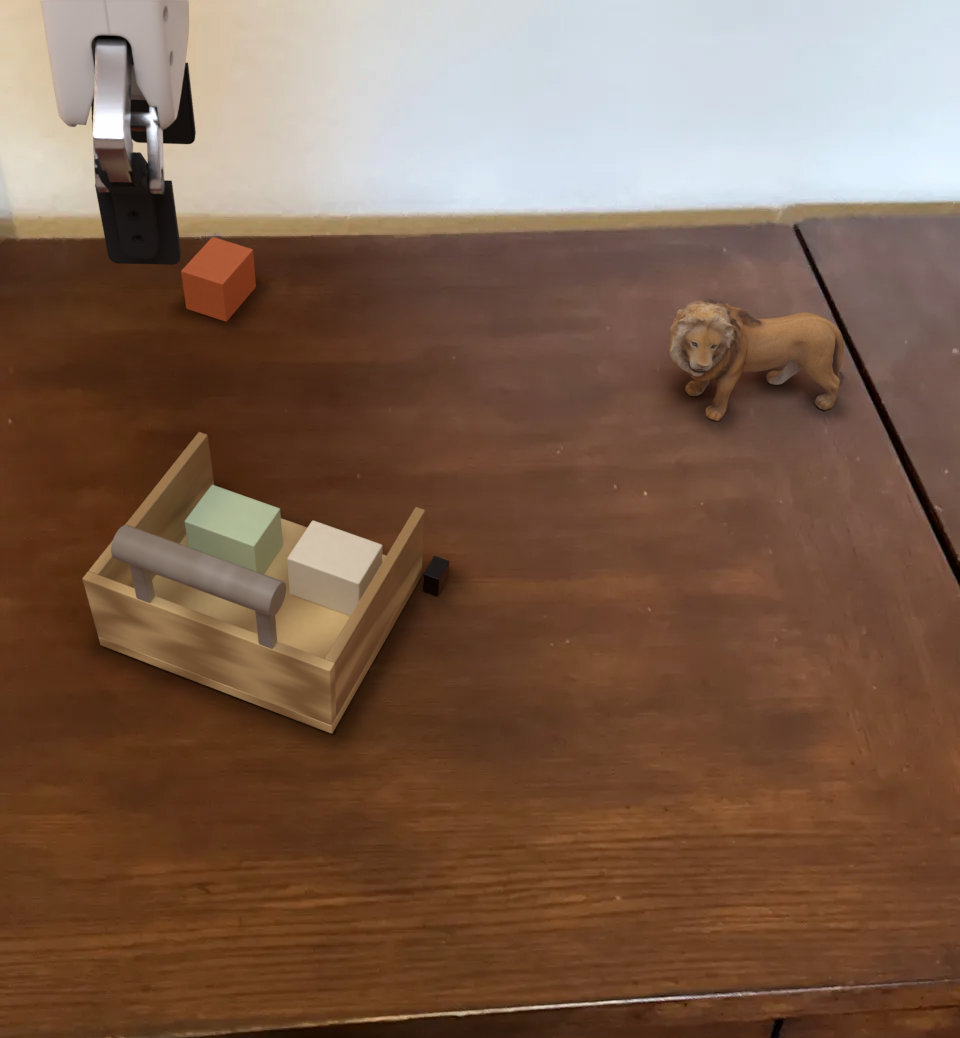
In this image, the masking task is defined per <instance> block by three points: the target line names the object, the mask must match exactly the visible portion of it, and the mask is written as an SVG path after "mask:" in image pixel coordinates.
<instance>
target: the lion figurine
mask: <svg viewBox="0 0 960 1038" xmlns="http://www.w3.org/2000/svg"><path fill="white" fill-rule="evenodd" d="M668 331H669V345H668V353H669V357H670V362H671V364H673V366H675V367H677V368H679V369H680V370H682V371H684V372H686V373H687V374H688V375H689V376H690V377H691V379H692V380H690V381H689V382H688V383H687V384H686V385H685V392H686V393H687V394H688V395H689V396H690V397H691V396H692V397H697V396H700V395H702V394H703V393H704V391H705V390H706V389H707V387H708V385H710V380H711V381H713V382H714V381H716V389H715V390H716V391H715V395H714V397H713V399H712V402H711V404H710V405H708V406H707V407H706V408H705V417H706V418H708V419H709V420H712V421H714V422H718V421H720V420H721V419H722V418H723V417H724V416H725V414H726V412H727V409H728V404H729V398H730V396H731V394H732V391H733V389H734V387H735V386H736V384H737V382H738V381H739V380H740V379H741V376H742V373H754V372H755V373H757V372H758V373H759V372H763V371H767V370H771V371H769V372H768V373H766V376H765V380H766V381H767V382H768V383H769V384H770V385H774V386H779V385H782V384H784V383H786V381H788V380H789V379H791V378H792V377H793V376H794V375H796V374H798V373H800V372H801V371H802V370H803V371H804V373H805V374H806V376H808V378H809V379H810V380H811V381H812V382H813V383H815V384H817V385H818V386H819V387H821V388H823V389H824V391H826V392H825V393H823V394H819V395H817V396H816V398H815V401H814V404H815V406H816V407H817V408H818V409H820V410H824V411H826V410H827V411H828V410H830V409H832V408H833V406H834V405H835V403H836V400H837V397H838V392H839V389H840V383H841V382H842V381H843V380H844V379H845V375H844V374H843V372H842V371H840V370H841V367H842V362H843V356H844V338H843V335H842V332H841V330H840V329H839V328H838V327H837V325H836V324H835V323H833V322H832V321H830V320H829V319H827V318H826V317H824V316H822V315H819V314H816V313H812V312H809V311H800V312H796V313H792V314H789V315H785V316H779V317H772V318H771V317H770V318H754V317H752V316H751V314H750V313H749V312H748V311H747V310H745V309H744V308H741V307H737V306H735V305H730V303H726V302H725V301H719V300H718V299H716V300H714V299H711V298H710V299H708V298H707V299H706V300H705V299H698V300H693V301H690V302H688V303H687V304H686V306H685V307H684V308H680V309H678V310H677V311H676V317H675V318H674V319H673V321H672V323H671V325H670V327H669V330H668ZM785 363H787V364H786V365H785V367H784V368H783V369H782V370H773V369H775V368H778V367H780V366H782V365H784V364H785Z"/></svg>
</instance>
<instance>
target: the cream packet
mask: <svg viewBox="0 0 960 1038" xmlns="http://www.w3.org/2000/svg"><path fill="white" fill-rule="evenodd" d="M382 554H383V544H381V543H379V542H376V541H373V540H371V539H367V538H364V537H361V536H359V535H356V534H353V533H350V532H348V531H345V530H342V529H339V528H337V527H332V526H331V525H327V524H325V523H322V522H319V521H316V520H311V522H310V523H309V525H308V526H307V529H306V531H305V532H304V534H303V535H302V537H301V538H300V540H299V541H298V543H297V544H296V546H295V547H294V549H293V550H292V552H291V553H290V555H289V556H288V558H287V561H288V575H289V589H290V594H291V595H294V596H296V597H299V598H302V599H305V600H307V601H310V602H313V603H316V604H318V605H321V606H324V607H327V608H329V609H332V610H335V611H338V612H340V613H343V614H346V615H349V616H351V614H352V612H353V611H354V609H355V607H356V606H357V604H358V602H359V601H360V599H361V597H362V596H363V594H364V592H365V591H366V589H367V587H368V586H369V584H370V582H371V581H372V579H373V577H374V576H375V574H376V572H377V571H378V569H379V567H380V566H381V564H382Z"/></svg>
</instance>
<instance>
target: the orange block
mask: <svg viewBox="0 0 960 1038" xmlns="http://www.w3.org/2000/svg"><path fill="white" fill-rule="evenodd" d="M254 258H255V257H254V249H252V248H250V247H247V246H243V245H240V244H237V243H234V242H231V241H227V240H224V239H221V238H217V237H214V236H212V237H211V238H209V240H208V241H206V243H205V244H204V245H203V247H201V249H200V250H199V251H198V252H197V253H196V254H195V255H194V256H193V257H192V258H191V259H190V261H189V262H188V263H186V265H185V266H184V267H183V268H182V269H181V270H180V273H181V280H182V289H183V295H184V296H183V297H184V303H185V309H186V310H189V311H191V312H195V313H197V314H201V315H204V316H207V317H211V318H213V319H216V320H218V321H222V322H225V323H227V322H228V321H229V320H230V319H231V317H232V316H233V315H234V314H235V313H236V311H238V309H239V308H240V307H241V306H242V304H243V303H244V302H245V301H246V300H247V298H249V296H251V294H252V292H253V291H254V290H255V289H256V288H257V282H256V281H257V280H256V270H255V269H256V268H255V259H254Z"/></svg>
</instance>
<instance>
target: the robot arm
mask: <svg viewBox="0 0 960 1038" xmlns="http://www.w3.org/2000/svg"><path fill="white" fill-rule="evenodd" d="M39 1H40V7H41V8H40V9H41V14H42V20H43V26H44V34H45V39H46V47H47V52H48V59H49V64H50V71H51V78H52V84H53V91H54V98H55V103H56V108H57V113H58V116H59V118H60V120H61V121H62V122H63V123H64V124H65V125H67V127H68V128H69V127H70V128H75V127H77V126H79V125H80V126H87V122H88V119H89V116H90V112H91V125H92V127H91V129H92V145H93V146H92V147H93V166H94V167H93V168H94V182H95V183H94V188H95V193H96V197H97V198H96V199H97V203H98V208H99V214H100V220H101V225H102V230H103V235H104V241H105V246H106V252H107V257H108V259H109V260H110V261H111V262H112V263H115V264H121V265H122V264H126V265H128V264H129V265H164V266H165V265H168V266H173V265H174V266H175V265H177V264H178V263H180V261H181V255H182V248H181V240H180V239H181V238H180V233H179V224H178V218H177V209H176V202H175V195H174V186H173V181H172V180H170V179H169V180H167V179H165V159H164V156H165V155H164V144H166V145H167V144H168V145H192V144H194V142H195V140H196V132H197V131H196V121H195V113H194V106H193V105H194V104H193V96H192V86H191V85H192V84H191V79H190V78H191V75H190V67H189V62H186V61H187V53H188V45H189V36H190V35H189V34H190V0H39ZM134 142H135V143H138V144H146V150H147V151H146V152H147V160H146V159H145V157H144V155H143V154H142V153H141V151H140V152H135V151H134Z"/></svg>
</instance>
